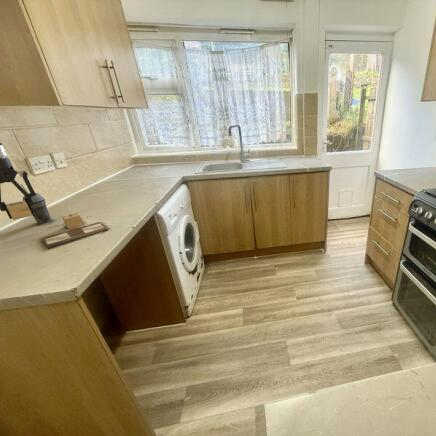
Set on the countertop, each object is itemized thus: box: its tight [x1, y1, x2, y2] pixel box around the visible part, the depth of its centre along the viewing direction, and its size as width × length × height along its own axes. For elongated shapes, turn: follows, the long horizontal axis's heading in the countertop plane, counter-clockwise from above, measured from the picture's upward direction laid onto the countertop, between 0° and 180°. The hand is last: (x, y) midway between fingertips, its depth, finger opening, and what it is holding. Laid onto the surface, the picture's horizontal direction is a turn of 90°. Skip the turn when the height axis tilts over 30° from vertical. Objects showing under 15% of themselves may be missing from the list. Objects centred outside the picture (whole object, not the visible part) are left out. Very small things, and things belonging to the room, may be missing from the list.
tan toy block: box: [5, 200, 33, 221], centre depth 98 cm, size 6×6×6 cm
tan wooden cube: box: [61, 212, 85, 230], centre depth 112 cm, size 6×6×6 cm
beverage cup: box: [20, 183, 52, 225], centre depth 112 cm, size 7×7×20 cm
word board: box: [42, 221, 109, 250], centre depth 104 cm, size 12×20×1 cm, turn 141°
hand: (21, 215), depth 99 cm, fingers closed on tan toy block, 5 cm apart
